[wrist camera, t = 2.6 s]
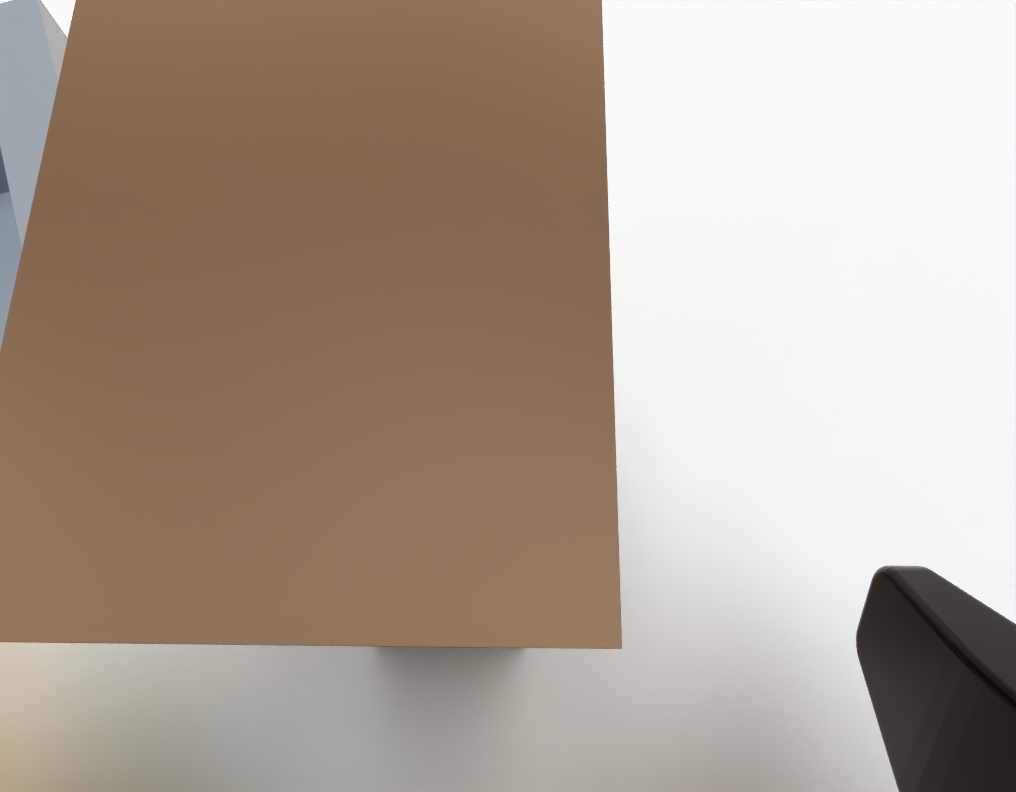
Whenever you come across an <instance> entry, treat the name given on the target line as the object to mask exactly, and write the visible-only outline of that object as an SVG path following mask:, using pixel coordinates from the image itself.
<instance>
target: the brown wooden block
mask: <svg viewBox="0 0 1016 792" xmlns="http://www.w3.org/2000/svg"><path fill="white" fill-rule="evenodd" d="M0 642H40V643H128V644H216V645H305V646H394V647H487V648H594V649H622V636H621V604H620V572H619V540H618V508H617V476H616V444H615V412H614V379H613V347H612V315H611V283H610V251H609V219H608V187H607V155H606V123H605V91H604V59H603V27H602V0H76V3H75V7H74V12H73V16H72V21H71V26H70V30H69V35H68V40H67V44H66V49H65V53H64V58H63V63H62V67H61V72H60V77H59V81H58V86H57V90H56V95H55V100H54V104H53V109H52V114H51V118H50V123H49V128H48V132H47V137H46V141H45V146H44V151H43V155H42V160H41V165H40V169H39V174H38V178H37V183H36V188H35V192H34V197H33V202H32V206H31V211H30V216H29V220H28V225H27V229H26V234H25V239H24V243H23V248H22V253H21V257H20V262H19V266H18V271H17V276H16V280H15V285H14V290H13V294H12V299H11V303H10V308H9V313H8V317H7V322H6V327H5V331H4V336H3V341H2V345H1V350H0Z"/></svg>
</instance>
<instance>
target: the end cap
mask: <svg viewBox="0 0 1016 792" xmlns="http://www.w3.org/2000/svg"><path fill="white" fill-rule="evenodd" d="M67 40H68V38H67V37H66V36H65V34H64V33H63V31H62V30H61V28H60V27H59V26H58V24H57V23H56V21H55V20H54V19H53V17H52V16H51V14H50V13H49V11H48V10H47V9H46V7H45V6H44V4H43V3H42V2H41V0H12V1H9V2H5V3H1V4H0V350H1V345H2V341H3V336H4V331H5V327H6V322H7V317H8V313H9V308H10V303H11V299H12V294H13V290H14V285H15V280H16V276H17V271H18V266H19V262H20V257H21V253H22V248H23V243H24V239H25V234H26V229H27V225H28V220H29V216H30V211H31V206H32V202H33V197H34V192H35V188H36V183H37V178H38V174H39V169H40V165H41V160H42V155H43V151H44V146H45V141H46V137H47V132H48V128H49V123H50V118H51V114H52V109H53V104H54V100H55V95H56V90H57V86H58V81H59V77H60V72H61V67H62V63H63V58H64V53H65V49H66V44H67Z"/></svg>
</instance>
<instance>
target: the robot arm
mask: <svg viewBox="0 0 1016 792" xmlns="http://www.w3.org/2000/svg"><path fill="white" fill-rule="evenodd" d="M856 647H857V654H858V658H859V661H860V665H861V668H862V671H863V674H864V678H865V681H866V684H867V688H868V691H869V694H870V698H871V701H872V704H873V708H874V711H875V714H876V718H877V721H878V724H879V727H880V731H881V734H882V737H883V741H884V744H885V747H886V751H887V754H888V757H889V761H890V764H891V767H892V771H893V774H894V777H895V780H896V784H897V787H898V790H899V792H1016V624H1015V623H1013V622H1011V621H1010V620H1008V619H1007V618H1005V617H1004V616H1002V615H1001V614H999V613H997V612H996V611H994V610H993V609H991V608H990V607H988V606H986V605H985V604H983V603H982V602H980V601H979V600H977V599H975V598H974V597H972V596H971V595H969V594H968V593H966V592H964V591H963V590H961V589H960V588H958V587H957V586H955V585H954V584H952V583H950V582H949V581H947V580H946V579H944V578H943V577H941V576H939V575H938V574H936V573H935V572H933V571H931V570H930V569H928V568H925V567H921V566H884V567H881V568H879V569H878V570H877V571H876V573H875V574H874V576H873V578H872V581H871V584H870V588H869V591H868V595H867V598H866V601H865V605H864V608H863V611H862V615H861V618H860V622H859V625H858V629H857V635H856Z"/></svg>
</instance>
